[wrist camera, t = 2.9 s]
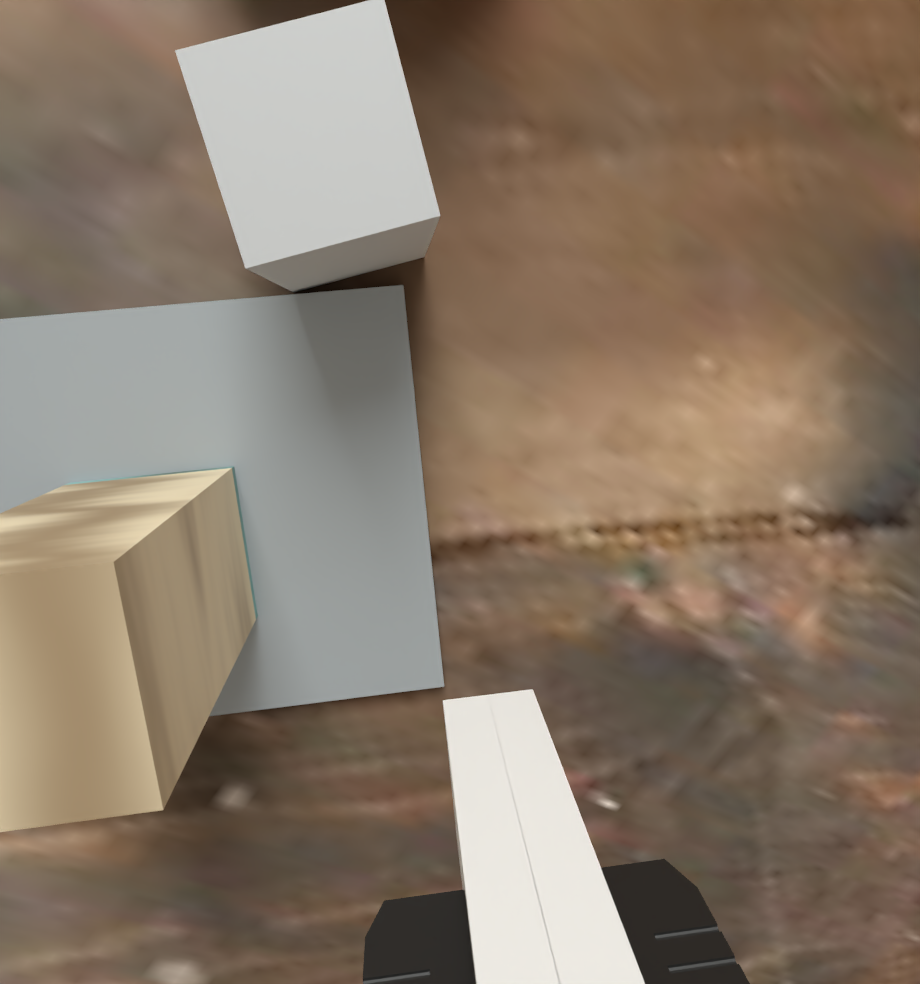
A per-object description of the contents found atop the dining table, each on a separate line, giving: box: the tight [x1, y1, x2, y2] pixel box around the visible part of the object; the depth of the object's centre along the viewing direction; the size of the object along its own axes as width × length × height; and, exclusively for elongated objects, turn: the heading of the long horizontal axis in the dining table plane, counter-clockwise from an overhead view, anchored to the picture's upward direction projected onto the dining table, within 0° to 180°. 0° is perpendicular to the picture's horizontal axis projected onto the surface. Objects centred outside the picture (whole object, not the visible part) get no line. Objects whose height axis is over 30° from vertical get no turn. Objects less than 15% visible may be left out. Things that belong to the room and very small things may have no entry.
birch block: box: [0, 466, 258, 832], centre depth 22 cm, size 6×6×12 cm
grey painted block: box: [175, 0, 440, 292], centre depth 22 cm, size 5×5×9 cm
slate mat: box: [0, 285, 444, 716], centre depth 27 cm, size 24×16×1 cm, turn 95°
